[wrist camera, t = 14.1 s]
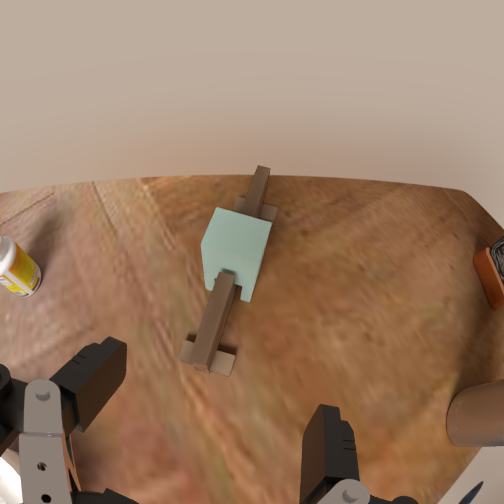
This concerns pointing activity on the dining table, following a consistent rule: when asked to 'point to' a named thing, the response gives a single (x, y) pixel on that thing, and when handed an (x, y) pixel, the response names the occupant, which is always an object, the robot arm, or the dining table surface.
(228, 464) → the dining table surface
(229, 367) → the brown notched barrier
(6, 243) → the supplement bottle
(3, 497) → the bowl
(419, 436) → the dining table surface
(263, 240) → the pale green rectangular block
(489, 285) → the whiskey bottle
